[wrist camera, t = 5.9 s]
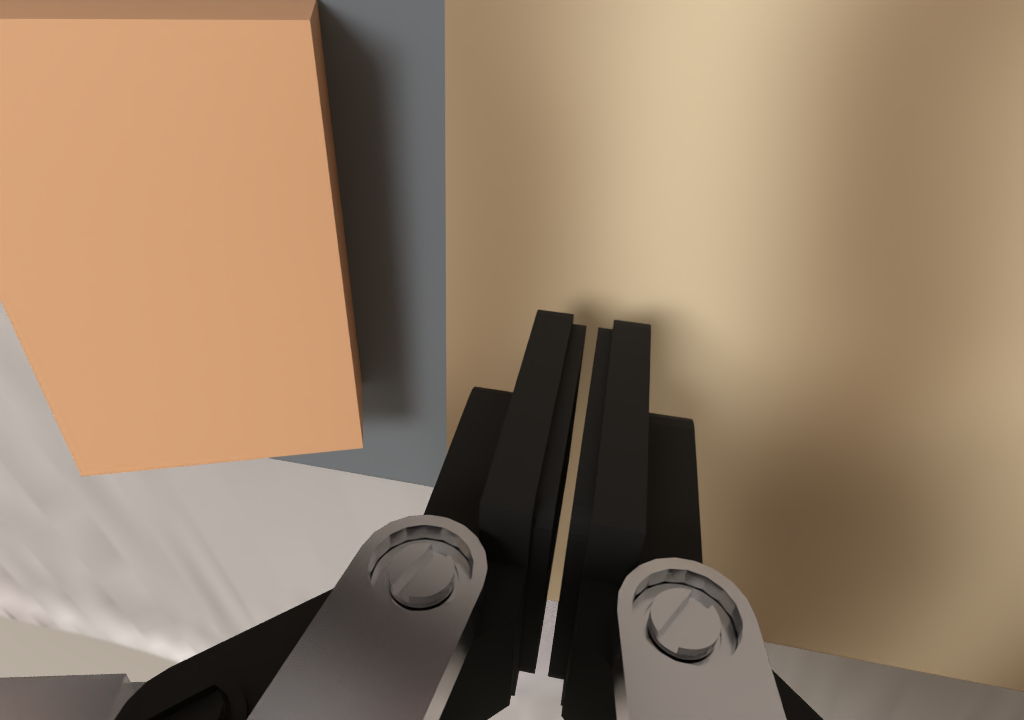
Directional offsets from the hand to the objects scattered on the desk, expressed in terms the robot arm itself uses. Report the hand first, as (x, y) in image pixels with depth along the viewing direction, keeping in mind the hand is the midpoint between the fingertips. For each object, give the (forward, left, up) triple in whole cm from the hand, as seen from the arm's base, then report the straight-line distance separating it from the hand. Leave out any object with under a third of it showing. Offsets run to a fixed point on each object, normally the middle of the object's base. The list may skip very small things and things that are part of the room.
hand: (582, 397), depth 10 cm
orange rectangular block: (+8, 0, -2) cm, 8 cm away
